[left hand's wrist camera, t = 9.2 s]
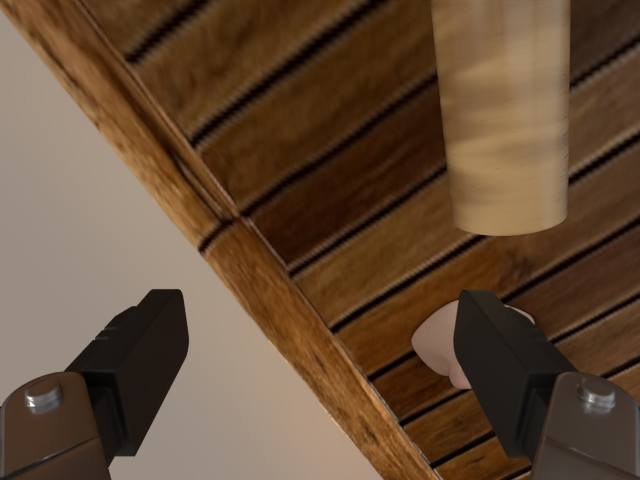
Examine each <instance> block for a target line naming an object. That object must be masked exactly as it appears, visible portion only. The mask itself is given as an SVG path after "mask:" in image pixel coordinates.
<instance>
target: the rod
mask: <svg viewBox="0 0 640 480" xmlns="http://www.w3.org/2000/svg"><path fill="white" fill-rule="evenodd" d="M430 3H431V13H432V23H433V33H434V43H435V53H436V62H437V72H438V82H439V92H440V102H441V112H442V122H443V132H444V142H445V152H446V162H447V172H448V182H449V192H450V202H451V212H452V221H453V223H454V225H455V226H456V227H458V228H460V229H461V230H464V231H467V232H470V233H475V234H481V235H493V236H507V235H520V234H527V233H533V232H538V231H542V230H545V229H548V228H551V227H554V226H556V225H558V224H559V223H561V222H562V221H563V220H565V218H566V217H567V214H568V156H569V78H570V0H430Z"/></svg>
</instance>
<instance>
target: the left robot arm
mask: <svg viewBox="0 0 640 480" xmlns="http://www.w3.org/2000/svg"><path fill="white" fill-rule="evenodd" d="M188 346H189V335H188V327H187V320H186V313H185V306H184V299H183V294H182V292H181V290H179V289H152V290H151V291H150V292H149V293H148V294H147V295H146V296H145V297H144V298H143V300H142V301H141V302H140V303H139V304H138V305H137V306H132V307H130V308H128V309H127V310H125V311H123V312H122V313H120V314H118V315H116V316H115V317H114V318H113V319H112V320H111V321H110V322H109V323H108V325H107V326H106V327H105V328H104V330H102V331H101V332H100V333H99V334H98V335H97V336H96V337H95V340H93V341H92V342H91V343H90V344H89V345H88V346H87V347H86V348H85V349H84V350H83V351H82V352H81V353H80V354H79V356H78V357H77V358H76V359H75V360H74V361H73V362H72V363H71V364H70V365H69V366H68V367H67V368H66V369H65V371H64V372H56V373H51V374H47V375H44V376H41V377H38V378H36V379H34V380H32V381H29V382H27V383H26V384H24V385H22V386H21V387H19V388H18V389H16V390H15V391H14V392H13V393H11V394H10V395H9V396H8V397H7V398H6V400H5V401H4V402H3V404H2V406H1V407H0V480H111V477H110V473H109V469H108V467H109V466H110V464H111V462H112V460H113V459H114V457H115V456H135V455H136V453H137V451H138V449H139V447H140V445H141V444H142V442H143V440H144V438H145V436H146V434H147V432H148V430H149V428H150V426H151V424H152V422H153V420H154V418H155V416H156V414H157V413H158V411H159V409H160V407H161V405H162V403H163V401H164V399H165V397H166V395H167V393H168V391H169V389H170V387H171V385H172V383H173V381H174V380H175V378H176V376H177V374H178V372H179V370H180V368H181V366H182V364H183V362H184V360H185V358H186V355H187V352H188ZM453 347H454V353H455V356H456V359H457V361H458V363H459V365H460V367H461V368H462V370H463V372H464V374H465V376H466V378H467V380H468V382H469V384H470V386H471V388H472V390H473V391H474V393H475V395H476V397H477V399H478V401H479V403H480V405H481V407H482V409H483V411H484V413H485V414H486V416H487V418H488V420H489V422H490V424H491V426H492V428H493V430H494V432H495V434H496V436H497V437H498V439H499V441H500V443H501V445H502V447H503V449H504V451H505V453H506V455H507V457H508V458H529V460H530V461H531V463H532V469H531V473H530V477H529V480H640V407H639V406H638V404H637V402H636V401H635V400H634V398H633V397H632V396H631V395H630V394H629V393H627V392H626V391H625V390H624V389H622V388H621V387H619V386H618V385H616V384H614V383H613V382H611V381H609V380H606V379H604V378H602V377H599V376H596V375H593V374H589V373H584V372H579V371H578V370H577V369H576V368H575V367H574V366H573V365H572V364H571V363H570V362H569V361H568V360H567V358H566V357H565V356H564V355H563V354H562V353H561V352H560V351H559V350H558V349H557V348H556V347H555V346H554V345H553V344H552V343H551V342H550V341H548V338H547V337H546V336H545V335H544V334H543V333H542V332H541V331H538V328H537V327H536V326H535V325H534V324H533V322H532V321H531V320H530V319H529V318H528V317H527V316H525V315H523V314H521V313H520V312H518V311H516V310H515V309H513V308H511V307H506V306H505V305H504V304H503V303H502V302H501V301H500V300H499V299H498V297H497V296H496V295H495V294H494V293H493V292H492V291H491V290H462V291H461V293H460V295H459V300H458V307H457V314H456V321H455V328H454V335H453Z"/></svg>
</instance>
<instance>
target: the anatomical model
mask: <svg viewBox="0 0 640 480" xmlns="http://www.w3.org/2000/svg"><path fill="white" fill-rule="evenodd" d="M505 306H506V307H510V306H507V305H505ZM457 307H458V300H456V301H453V302H451V303H449V304H447V305H445V306H444V307H442V308H440V309H439V310H437V311H436V312H435V313H433V314H432V315H431V316H430V317H429V318H428V319H427V320H426V321H425V322H424V323H423V324H421V326H420V327H419V328H418V329H417V330H416V331H415V333H414V335H413V337H412V346H413V348H414V350H415V351H416V353H417V354H418V355H419V356H420V358H421V359H422V360H423V361H424V362H425V363H426V364H427V365H428V366H429V367H430V368H431V369H433V370H434V371H435V372H437V373H438V374H441V375H444V376H449V377H450V380H451V382H452V384H453V385H454V386H455V387H457V388H459V389H472V388H471V386H470V384H469V382H468V380H467V378H466V376H465V374H464V372H463V370H462V368H461V367H460V365H459V363H458V361H457V359H456V356H455V353H454V347H453V335H454V328H455V321H456V314H457ZM511 308H513V307H511ZM513 309H515V310H516V311H518V312H520V313H521V314H523V315H525V316H527V317H528V318H529V319H530V320H531V321H532V322H533V324H534V320H533V318H532V317H531V316H530V315H529V314H527V313H525V312H523V311H521V310H519V309H516V308H513ZM534 325H535V324H534Z"/></svg>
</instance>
